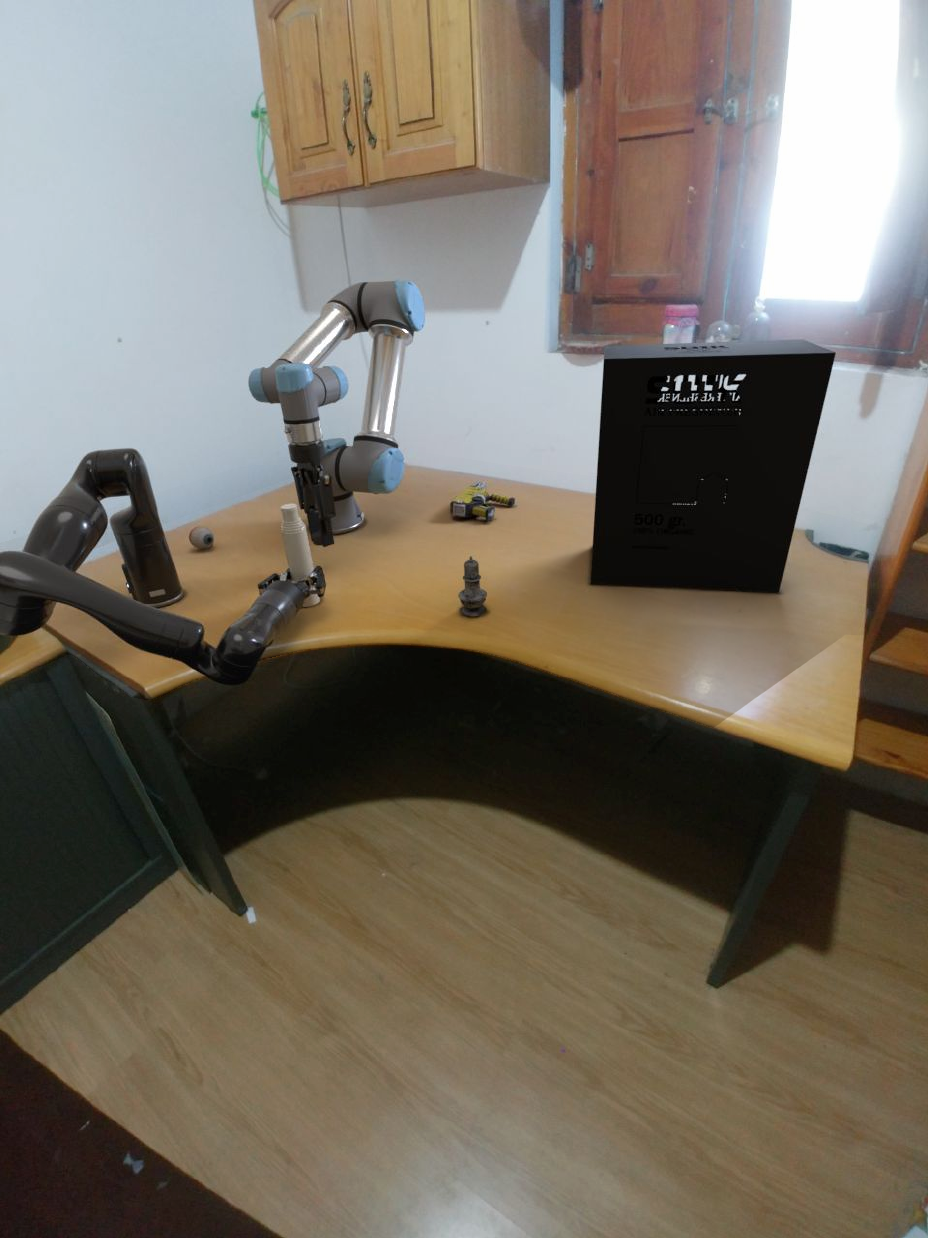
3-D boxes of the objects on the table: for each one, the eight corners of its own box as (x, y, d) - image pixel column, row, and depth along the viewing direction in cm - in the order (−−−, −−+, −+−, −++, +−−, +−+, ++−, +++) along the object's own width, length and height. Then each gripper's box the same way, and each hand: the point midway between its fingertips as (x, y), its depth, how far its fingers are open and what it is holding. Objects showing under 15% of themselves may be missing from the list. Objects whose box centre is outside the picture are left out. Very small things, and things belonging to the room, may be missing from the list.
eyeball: (203, 554, 156) (196, 532, 153) (187, 550, 159) (181, 528, 156) (222, 546, 160) (216, 524, 157) (206, 542, 163) (200, 521, 160)
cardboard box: (758, 552, 140) (802, 339, 117) (778, 592, 123) (835, 352, 100) (592, 546, 147) (604, 345, 125) (590, 583, 130) (603, 358, 108)
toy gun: (523, 485, 181) (476, 478, 185) (501, 509, 161) (448, 500, 165) (521, 500, 184) (475, 493, 187) (499, 525, 163) (447, 517, 167)
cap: (315, 538, 143) (313, 530, 142) (333, 537, 143) (332, 529, 142) (311, 546, 139) (310, 537, 138) (330, 545, 139) (329, 536, 138)
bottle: (314, 594, 133) (296, 500, 122) (323, 602, 130) (305, 506, 119) (293, 600, 131) (272, 505, 120) (301, 609, 127) (281, 512, 116)
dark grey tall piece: (485, 617, 120) (483, 562, 114) (456, 616, 121) (452, 561, 115) (490, 603, 125) (488, 550, 119) (462, 602, 126) (459, 549, 120)
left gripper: (245, 623, 118) (279, 584, 132) (315, 625, 116) (342, 585, 130) (236, 589, 114) (272, 553, 128) (308, 590, 112) (336, 553, 126)
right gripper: (270, 439, 133) (290, 538, 145) (311, 450, 122) (329, 556, 134) (300, 433, 138) (317, 529, 149) (342, 443, 126) (357, 546, 138)
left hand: (307, 569), depth 129 cm, fingers closed on bottle, 5 cm apart
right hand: (322, 542), depth 141 cm, fingers closed on cap, 4 cm apart
